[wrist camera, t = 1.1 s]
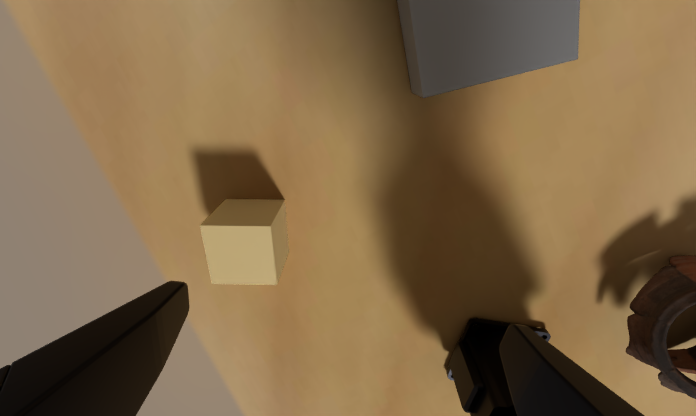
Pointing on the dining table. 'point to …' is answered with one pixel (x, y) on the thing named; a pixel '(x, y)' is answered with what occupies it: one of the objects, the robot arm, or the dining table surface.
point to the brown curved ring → (665, 323)
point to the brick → (246, 241)
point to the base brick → (484, 40)
